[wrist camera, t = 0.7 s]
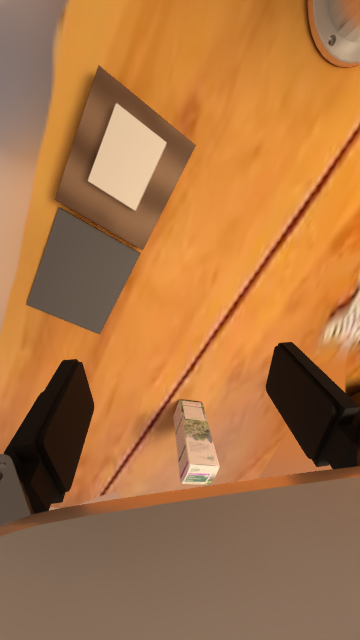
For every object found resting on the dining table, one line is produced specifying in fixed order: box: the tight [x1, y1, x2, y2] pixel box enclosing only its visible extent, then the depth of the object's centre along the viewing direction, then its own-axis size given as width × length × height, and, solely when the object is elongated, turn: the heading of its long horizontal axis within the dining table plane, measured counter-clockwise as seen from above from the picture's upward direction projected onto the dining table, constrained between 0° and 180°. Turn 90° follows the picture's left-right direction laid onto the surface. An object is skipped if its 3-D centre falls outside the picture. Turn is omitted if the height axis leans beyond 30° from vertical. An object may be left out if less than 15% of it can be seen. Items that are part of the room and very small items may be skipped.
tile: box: [88, 103, 167, 211], centre depth 25 cm, size 8×6×2 cm
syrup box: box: [173, 400, 220, 484], centre depth 43 cm, size 6×6×14 cm
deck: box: [55, 66, 196, 250], centre depth 27 cm, size 14×12×2 cm
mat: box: [26, 208, 140, 334], centre depth 33 cm, size 16×12×1 cm
